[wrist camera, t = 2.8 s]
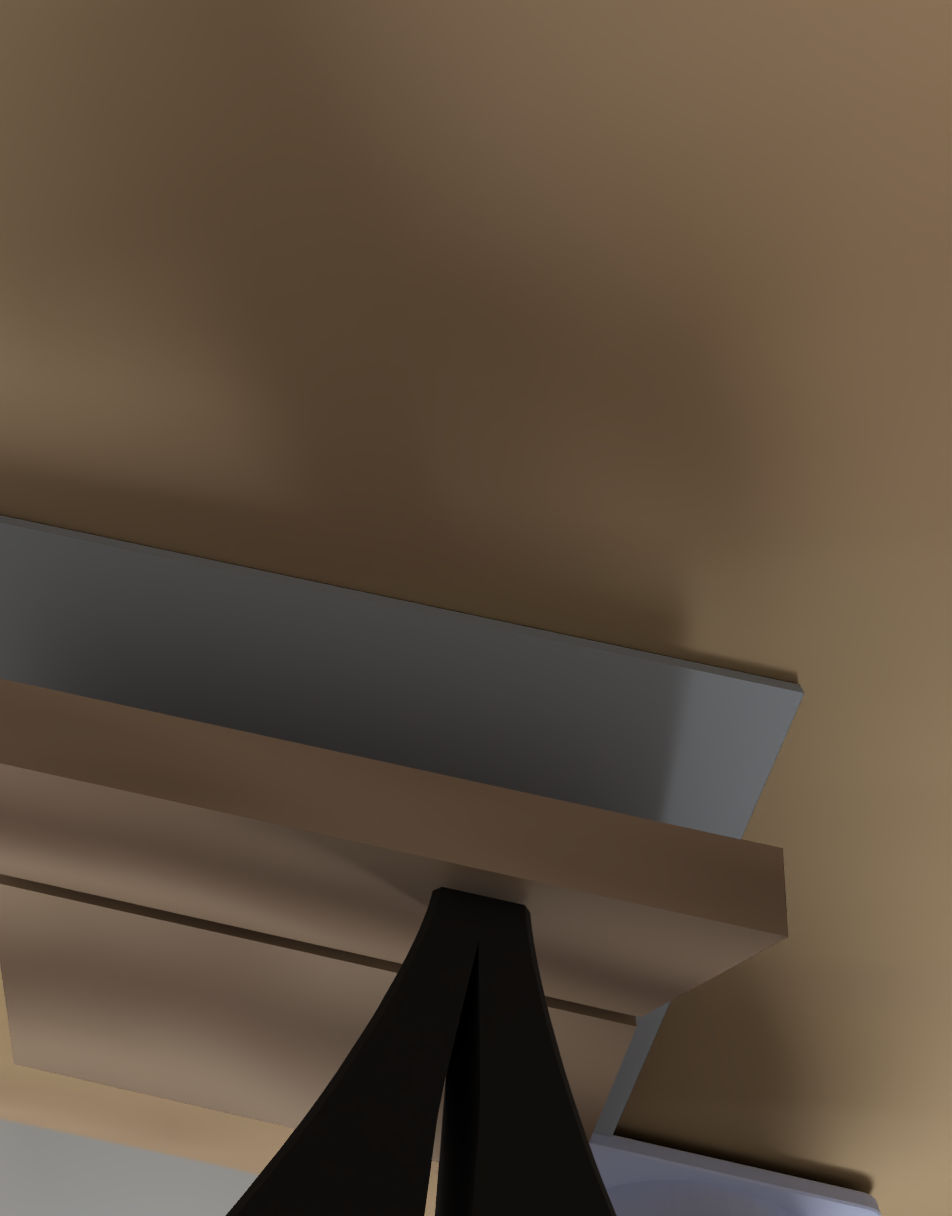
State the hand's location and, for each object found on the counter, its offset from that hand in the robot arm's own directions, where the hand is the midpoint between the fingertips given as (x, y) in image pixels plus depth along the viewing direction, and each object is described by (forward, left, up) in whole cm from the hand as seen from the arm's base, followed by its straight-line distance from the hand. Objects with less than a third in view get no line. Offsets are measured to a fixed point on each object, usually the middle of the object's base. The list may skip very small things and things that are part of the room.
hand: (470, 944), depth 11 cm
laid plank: (-8, +3, -4) cm, 9 cm away
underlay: (-4, +3, -5) cm, 7 cm away
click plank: (-1, +3, -3) cm, 4 cm away
